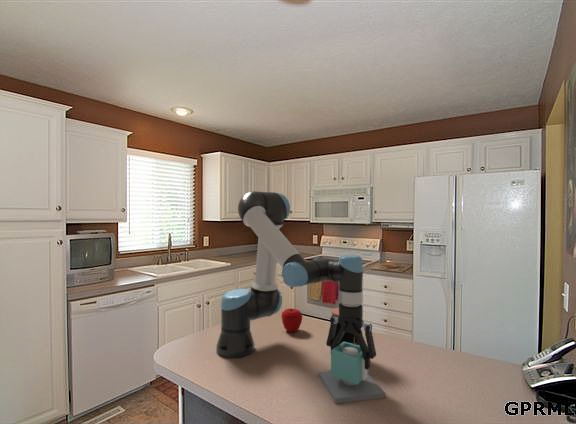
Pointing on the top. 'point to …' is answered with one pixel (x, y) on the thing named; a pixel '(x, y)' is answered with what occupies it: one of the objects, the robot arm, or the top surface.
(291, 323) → the apple
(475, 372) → the top surface
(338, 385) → the grey square base plate
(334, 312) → the coffee jar
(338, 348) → the teal storage bin
